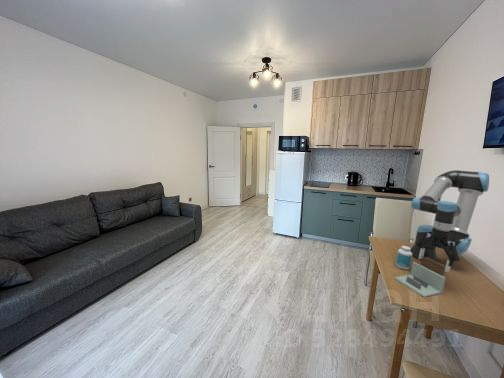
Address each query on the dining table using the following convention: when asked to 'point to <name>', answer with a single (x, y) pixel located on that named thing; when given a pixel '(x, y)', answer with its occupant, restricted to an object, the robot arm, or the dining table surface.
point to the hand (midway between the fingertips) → (433, 264)
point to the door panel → (433, 266)
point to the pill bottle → (404, 258)
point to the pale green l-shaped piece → (423, 281)
